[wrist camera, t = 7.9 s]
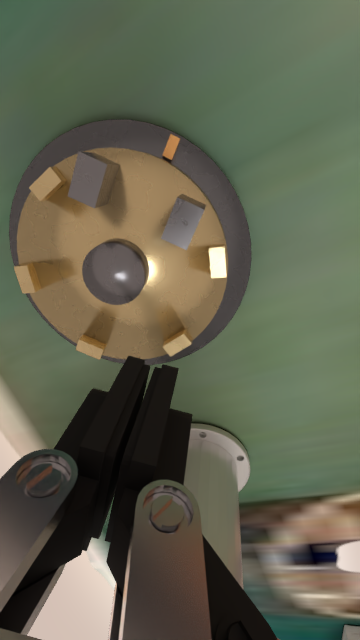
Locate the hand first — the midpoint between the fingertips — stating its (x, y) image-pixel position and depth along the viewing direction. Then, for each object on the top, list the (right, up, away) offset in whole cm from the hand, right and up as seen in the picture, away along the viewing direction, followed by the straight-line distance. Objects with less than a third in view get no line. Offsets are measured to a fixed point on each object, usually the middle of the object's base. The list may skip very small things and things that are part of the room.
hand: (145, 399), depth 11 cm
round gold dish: (-4, +8, +19) cm, 21 cm away
